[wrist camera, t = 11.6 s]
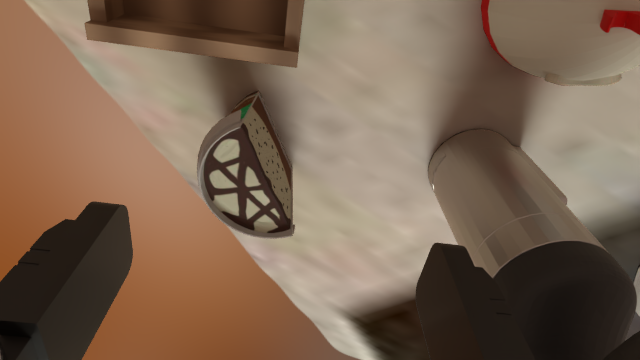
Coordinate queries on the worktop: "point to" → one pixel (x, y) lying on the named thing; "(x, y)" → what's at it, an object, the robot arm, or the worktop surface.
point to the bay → (203, 27)
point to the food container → (247, 173)
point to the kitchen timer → (566, 38)
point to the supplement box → (637, 290)
